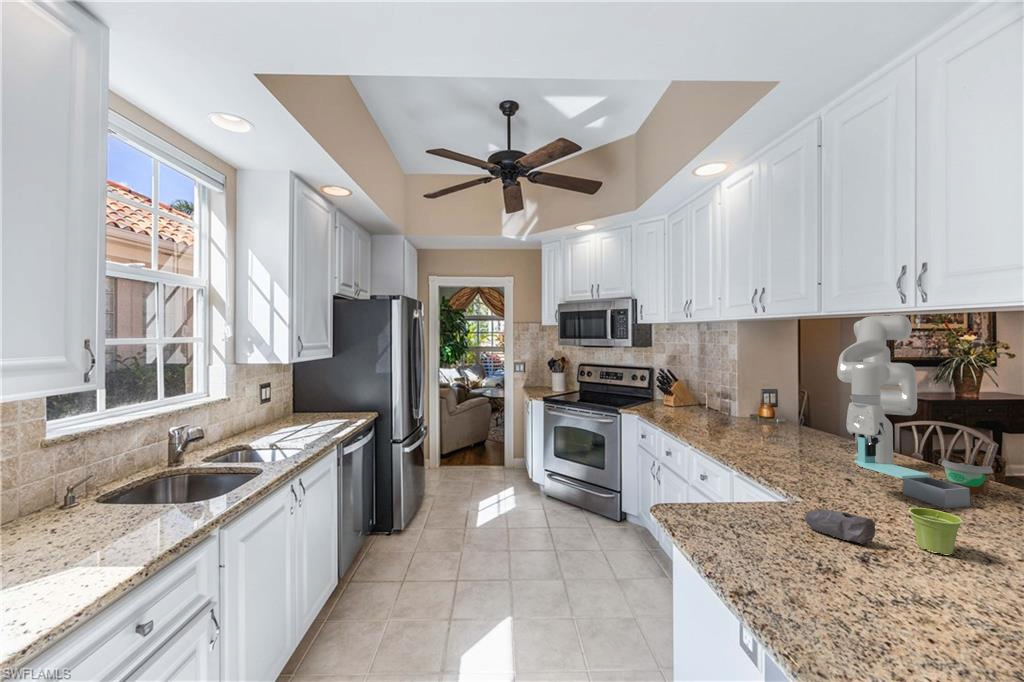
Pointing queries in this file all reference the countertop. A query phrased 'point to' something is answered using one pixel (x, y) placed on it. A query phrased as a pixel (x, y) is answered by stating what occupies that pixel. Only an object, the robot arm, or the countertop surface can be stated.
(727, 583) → the countertop surface
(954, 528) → the plant pot
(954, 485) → the tub
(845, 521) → the perforated stone tool
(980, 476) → the food container
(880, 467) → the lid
